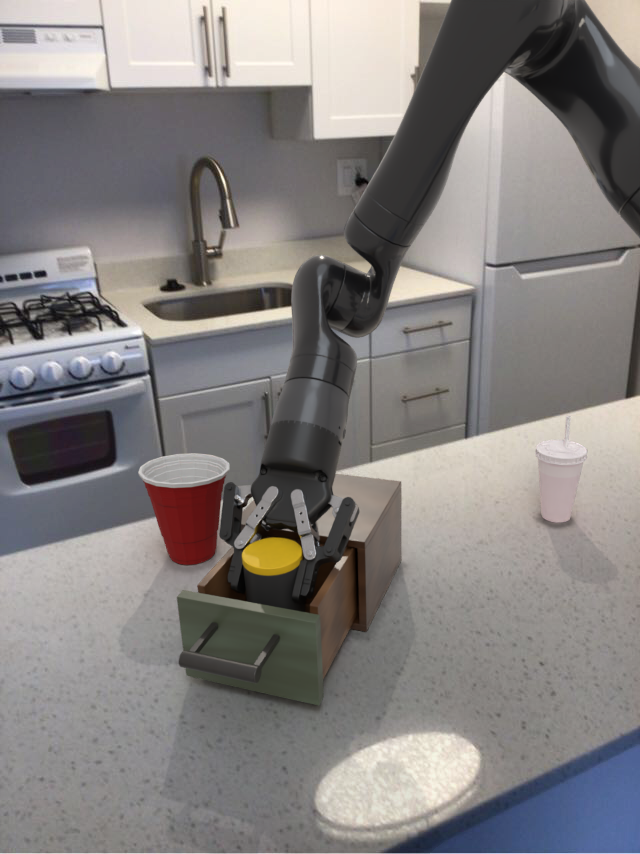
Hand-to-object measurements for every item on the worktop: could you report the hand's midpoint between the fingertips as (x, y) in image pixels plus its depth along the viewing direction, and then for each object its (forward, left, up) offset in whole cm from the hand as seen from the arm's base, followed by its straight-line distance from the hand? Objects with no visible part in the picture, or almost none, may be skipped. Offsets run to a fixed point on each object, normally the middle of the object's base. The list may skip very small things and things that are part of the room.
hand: (267, 596), depth 71 cm
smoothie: (-24, -39, -8) cm, 46 cm away
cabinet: (0, -15, -8) cm, 17 cm away
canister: (0, -2, -4) cm, 5 cm away
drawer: (0, +1, -7) cm, 7 cm away
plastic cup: (+18, -17, -8) cm, 26 cm away
